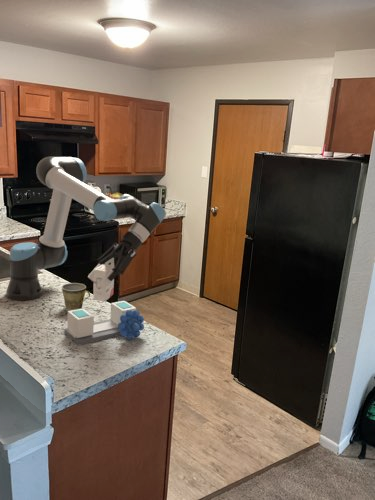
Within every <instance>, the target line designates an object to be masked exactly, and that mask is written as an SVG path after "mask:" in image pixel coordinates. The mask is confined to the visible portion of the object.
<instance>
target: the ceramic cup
mask: <svg viewBox="0 0 375 500" xmlns="http://www.w3.org/2000/svg"><path fill="white" fill-rule="evenodd" d="M61 290H62V295H63V300H64V305H65V306H64V307H65V310H66V311H67V312H68V311H71V310H77V309H82V308H83V303H84V302H85V300H87V299H88V298H90V296H91V294H90V293H91V292H90V291H89V290H87V285H85V284H84V283H79V282H70V283H69V282H68V283H66V284H63V285H62V286H61ZM86 293H87V294H88V296H86V297H85V294H86Z"/></svg>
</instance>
